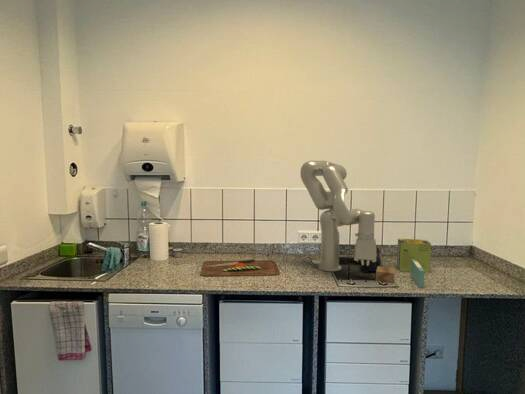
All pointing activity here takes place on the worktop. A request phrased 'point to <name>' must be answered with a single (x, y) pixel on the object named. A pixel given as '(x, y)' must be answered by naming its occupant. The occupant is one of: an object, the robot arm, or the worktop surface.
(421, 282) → the teal board
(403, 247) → the protein box
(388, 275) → the brown rectangular box
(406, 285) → the worktop surface
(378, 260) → the portable speaker
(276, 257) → the worktop surface
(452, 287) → the worktop surface
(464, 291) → the worktop surface
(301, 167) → the robot arm
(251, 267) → the chopping board
